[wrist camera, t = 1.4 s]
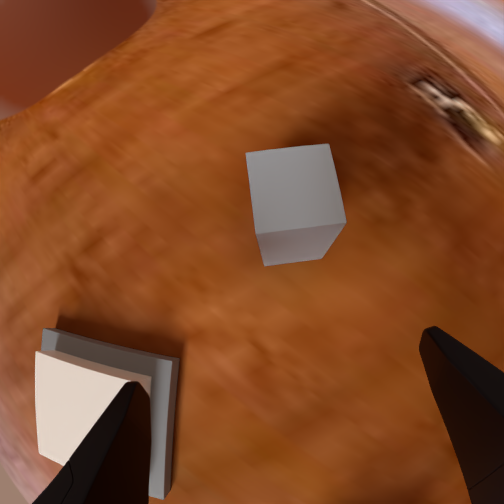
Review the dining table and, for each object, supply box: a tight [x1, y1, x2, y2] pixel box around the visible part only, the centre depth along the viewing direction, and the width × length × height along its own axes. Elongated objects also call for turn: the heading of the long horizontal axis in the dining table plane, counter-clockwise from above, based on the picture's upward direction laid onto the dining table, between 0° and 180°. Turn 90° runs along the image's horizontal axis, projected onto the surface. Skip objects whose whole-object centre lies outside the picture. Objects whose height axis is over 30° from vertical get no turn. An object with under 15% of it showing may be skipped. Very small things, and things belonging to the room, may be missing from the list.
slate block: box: [246, 144, 347, 266], centre depth 19 cm, size 4×4×9 cm
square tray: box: [41, 328, 180, 500], centre depth 21 cm, size 12×12×2 cm
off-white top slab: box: [35, 350, 152, 466], centre depth 19 cm, size 9×9×2 cm
